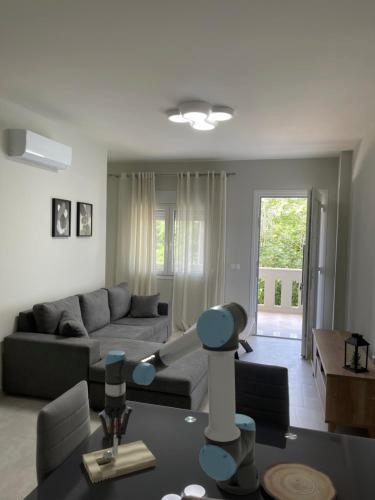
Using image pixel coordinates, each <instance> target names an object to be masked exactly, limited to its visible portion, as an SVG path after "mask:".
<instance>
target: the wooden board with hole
mask: <svg viewBox="0 0 375 500" xmlns="http://www.w3.org/2000/svg"><path fill="white" fill-rule="evenodd" d="M105 451H111V452H112V447H108V448H105V449H101V450H97V451H92V452H89V453H88V452H87V453H84V454H82V463H83V465H84V467H85V470H86V472H87V474H88V476H89V478H90V481H91V483H92V484H95V483H98V481H99V482H101V480H102V481H106V480H109V479H112V478H117V477H120V476H123V475H126V474H131V473H134V472H138V471H140V470H145V469H147V468H151V467H154V466H155V467H156V465H157V458H156V457H155V456H154V454H153V453H152V452H151V451H150V450H149V448H148V446H146V443H144V442H143V440H142V439H141V440H137V441H132V442H128V443H125V444H120V445H118V455H117V456H113V454H112V458H111V460H109V461H105V460H104V459H103V453H104V452H105ZM108 478H109V479H108ZM105 479H106V480H105ZM94 482H95V483H94Z"/></svg>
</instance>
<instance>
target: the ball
mask: <svg viewBox="0 0 375 500" xmlns="http://www.w3.org/2000/svg"><path fill="white" fill-rule="evenodd" d="M111 458H112V452H111V451H105V452H104V453H103V459H104V460H105V461H109V460H111Z"/></svg>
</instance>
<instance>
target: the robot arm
mask: <svg viewBox="0 0 375 500" xmlns="http://www.w3.org/2000/svg"><path fill="white" fill-rule="evenodd" d="M248 317H249V316H248V313H247V311H246V309H245V308H244V307H243V306H242V305H241V304H239V303H237V302H235V301H227V302H223V303H221V304H217V305H214V306H210V307H208V308H207V309H206V310H204V311H202V313H201V314H200V315H199V316H198V319H197V321H196V327H195V328H192V329H191V330H189V331H187V332H186V333H185V334H182V335H181V336H180V337H178V338H176V339H174V340H173V341H171V342H170V343H168V344H166V345H164V346H163V347H161V348H159V349H157V350H155V352H153V353H151V354H149V355H145V357H142V358H140V359H138V360H135V359H134V360H132V359H129V358H127V353H126V352H125V351H123V350H119V349H118V350H111V351H110V350H109V352H107V353H106V354H105V362H104V363H105V364H104V367H105V368H104V369H105V370H104V371H105V372H104V373H105V380H104V383H105V385H104V387H105V388H104V391H105V394H104V407H103V410H102V411H101V412H98V413H97V416H98V418H99V419H100V422H101V426H102V429H103V433H104V436H105V438H106V440H109V442H108V443H109V444H108V445H109V447H110V448H112V454H113V456H117V455H118V446H120V445H121V437H122V436H124V435H126V432H127V429H128V428H127V427H128V422H129V419H130V415H131V414H132V413H133V409H132V408H131V407H130V406H127V404H126V381H127V382H130V383H135V384H136V385H140V386H141V385H143V386H149V385H151V383H152V382H153V381H154V380H155V376H156V375H157V374H158V373H159V374H160V373H161V372H162V371H165V370H166V369H167V368H170V367H171V366H172V365H174V364H176V363H178V362H180V361H181V360H184V359H185V358H187V357H188V356H190V355H193V354H194V353H196V352H198V351H199V350H201V349H203V351H204V352H206V354H207V385H208V386H207V387H208V388H207V390H208V391H207V394H208V398H207V399H208V426H206V427H205V428H204V434H203V435H204V446H202V448H201V449H200V452H199V456H198V460H199V461H198V462H199V464H200V467H201V468H202V471H204V472H205V473H206V475H207V476H208V477H209V478H211V479H213V480H215V482H216V484H217V486H218V487H219V488H220V489H221V490H223V492H226V493H229V494H232V495H237V496H244V495H245V496H246V495H249V494H252V493H254V492H256V491H257V490H258V489H259V486H260V474H259V470H258V467H257V465H256V462H255V458H256V455H255V451H256V430H257V429H256V422H255V420H254V419H253V418H251V417H250V416H248V415H245V414H241V413H236V386H235V385H236V384H235V383H236V382H235V381H236V379H235V354H236V352H237V351H238V350H239V349H240V343H239V342H240V341H239V339H240V337H239V336H240V334H241V333H243V332H244V330H246V327H247V325H248V321H249V318H248ZM106 416H107V417H108V420H109V422H108V424H109V433H108V427H107V425H108V424H107V421H106ZM122 416H123V417H122ZM121 418H122V426H121ZM115 419H116V435H114V421H115Z"/></svg>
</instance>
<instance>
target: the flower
mask: <svg viewBox="0 0 375 500" xmlns="http://www.w3.org/2000/svg"><path fill="white" fill-rule="evenodd" d="M122 421H123V417H121V426H122ZM106 425H107V429H108V433H109V423H108V424H106ZM114 435H116V418H115V421H114ZM121 438H123V437H122V436H121ZM121 438H120V439H121Z"/></svg>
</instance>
